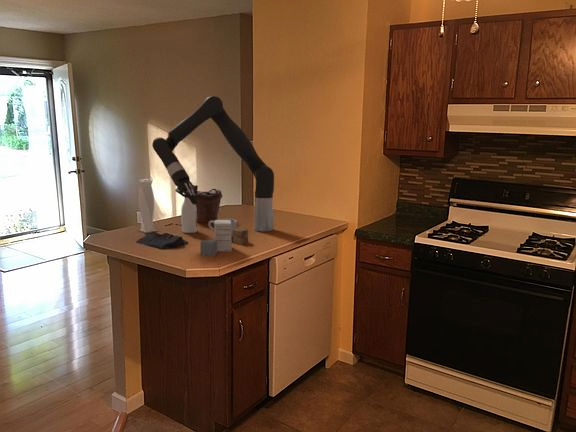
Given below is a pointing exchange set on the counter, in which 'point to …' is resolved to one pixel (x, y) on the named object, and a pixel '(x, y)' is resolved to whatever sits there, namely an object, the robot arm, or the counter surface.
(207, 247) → the slate-grey block
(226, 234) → the supplement box
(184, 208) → the milk bottle
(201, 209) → the wooden bucket
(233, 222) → the teacup
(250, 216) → the counter surface
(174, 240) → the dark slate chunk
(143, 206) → the skyscraper
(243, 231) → the walnut block
